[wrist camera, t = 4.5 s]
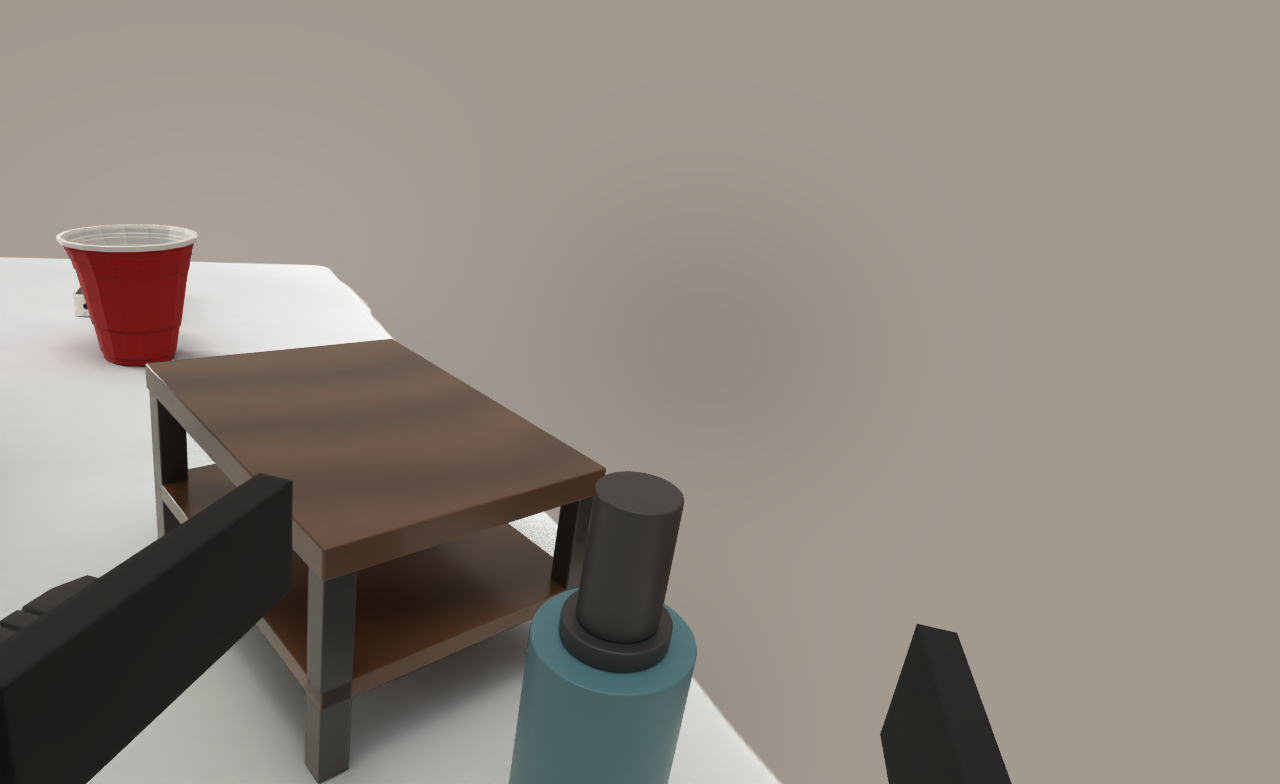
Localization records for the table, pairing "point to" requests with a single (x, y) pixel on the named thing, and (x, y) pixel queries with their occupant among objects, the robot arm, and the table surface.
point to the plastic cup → (133, 286)
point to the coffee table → (374, 508)
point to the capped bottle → (610, 650)
